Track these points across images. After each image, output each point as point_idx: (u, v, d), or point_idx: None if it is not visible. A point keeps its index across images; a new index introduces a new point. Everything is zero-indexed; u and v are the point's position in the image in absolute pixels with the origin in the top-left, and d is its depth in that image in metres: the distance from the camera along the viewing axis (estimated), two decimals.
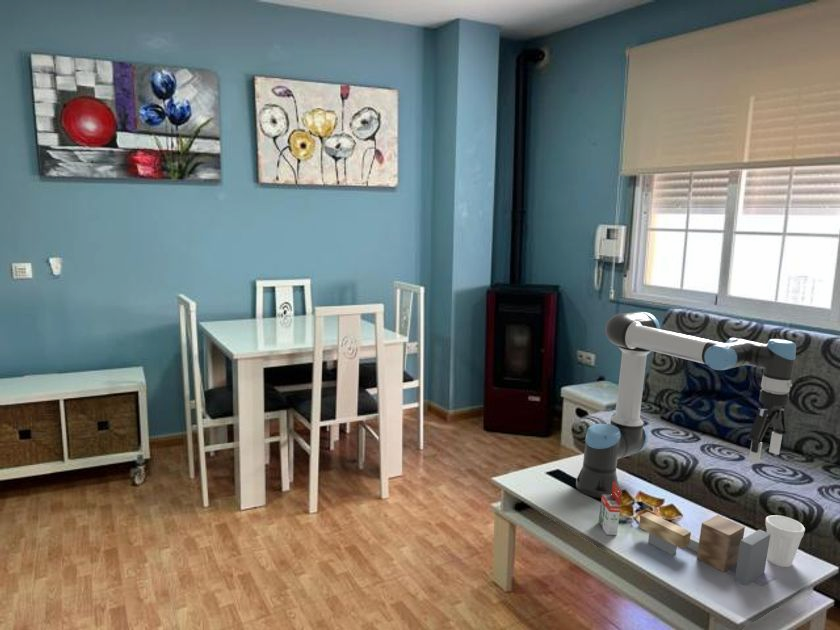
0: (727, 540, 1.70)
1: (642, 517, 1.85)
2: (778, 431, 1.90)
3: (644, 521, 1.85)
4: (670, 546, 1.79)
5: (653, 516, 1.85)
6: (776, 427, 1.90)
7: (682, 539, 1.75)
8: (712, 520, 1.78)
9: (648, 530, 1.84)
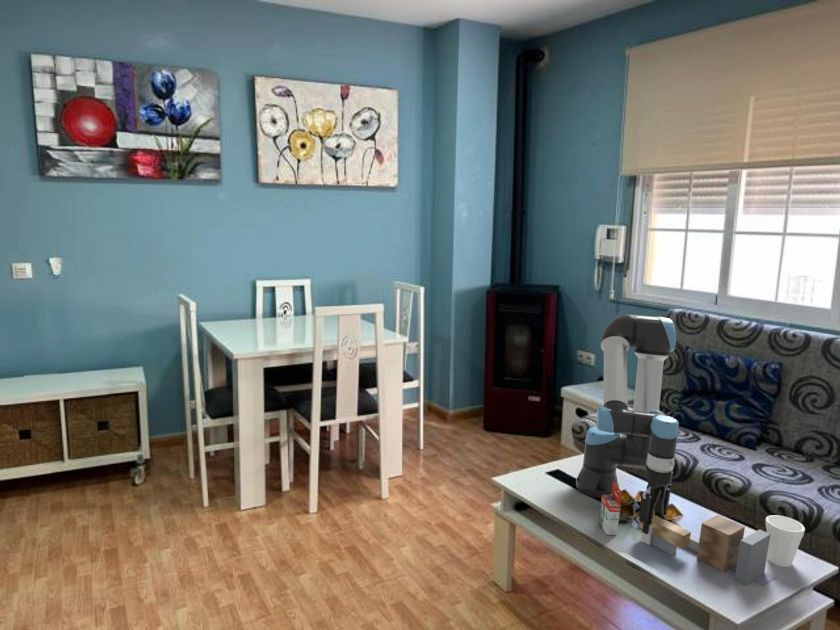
0: (727, 540, 1.70)
1: None
2: (658, 516, 1.86)
3: None
4: (670, 546, 1.79)
5: (653, 516, 1.85)
6: (657, 509, 1.86)
7: (682, 539, 1.75)
8: (712, 520, 1.78)
9: None
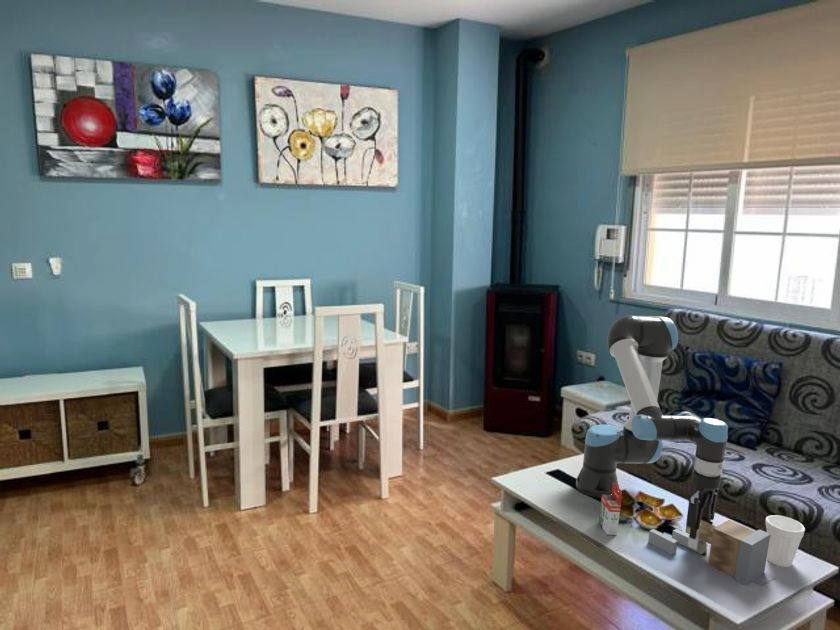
0: None
1: None
2: (705, 521, 1.83)
3: None
4: (670, 546, 1.79)
5: None
6: (704, 514, 1.82)
7: None
8: (724, 525, 1.75)
9: None
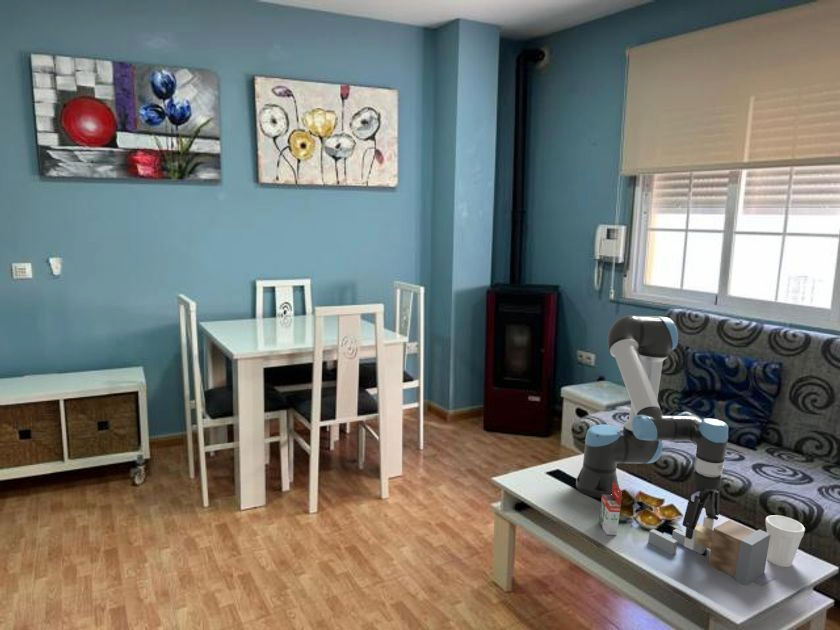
0: None
1: None
2: (710, 516, 1.84)
3: None
4: (670, 546, 1.79)
5: (699, 527, 1.82)
6: (708, 511, 1.83)
7: None
8: (724, 525, 1.75)
9: (695, 541, 1.81)
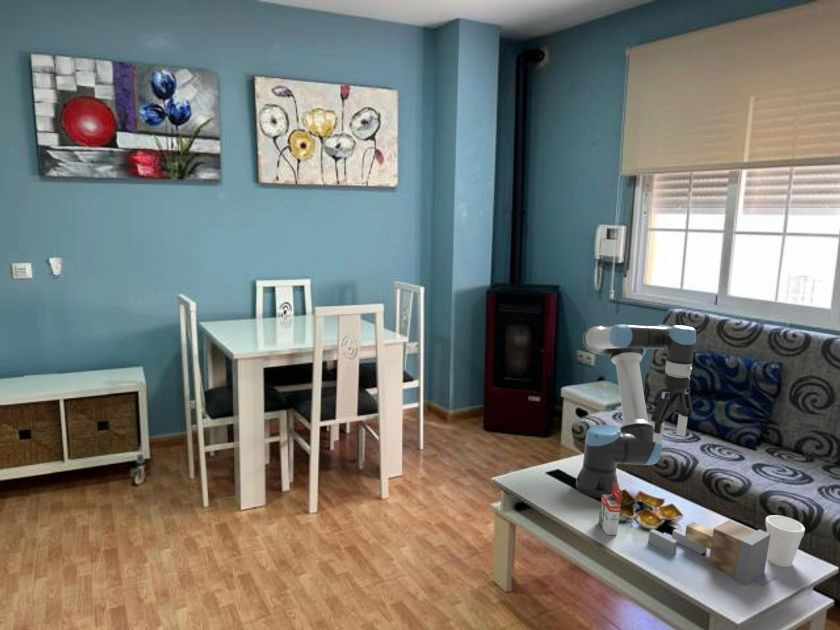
0: None
1: (688, 527, 1.82)
2: (684, 414, 1.99)
3: (691, 532, 1.81)
4: (670, 546, 1.79)
5: (699, 527, 1.82)
6: (682, 410, 1.98)
7: None
8: (724, 525, 1.75)
9: (695, 541, 1.81)
